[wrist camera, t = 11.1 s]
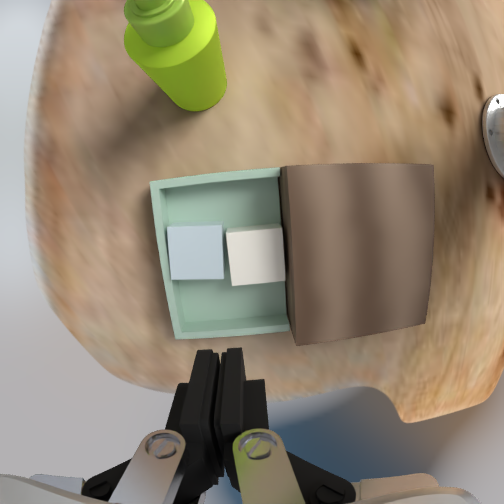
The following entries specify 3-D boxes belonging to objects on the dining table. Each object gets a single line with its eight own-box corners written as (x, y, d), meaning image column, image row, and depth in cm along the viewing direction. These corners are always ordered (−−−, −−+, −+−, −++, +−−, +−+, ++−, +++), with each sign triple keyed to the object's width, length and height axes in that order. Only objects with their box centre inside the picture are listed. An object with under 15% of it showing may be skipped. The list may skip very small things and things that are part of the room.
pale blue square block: (167, 227, 27) (173, 222, 29) (171, 279, 28) (177, 270, 31) (221, 225, 27) (223, 220, 29) (223, 279, 28) (225, 270, 31)
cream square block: (278, 223, 30) (281, 227, 27) (281, 271, 31) (285, 280, 28) (227, 228, 30) (225, 233, 27) (233, 276, 31) (232, 286, 28)
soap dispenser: (238, 59, 26) (233, -79, 7) (215, 118, 28) (166, 21, 8) (185, 46, 25) (124, -80, 6) (161, 103, 27) (52, 17, 8)
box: (276, 168, 29) (279, 167, 26) (285, 318, 33) (289, 330, 30) (158, 181, 29) (149, 181, 26) (180, 326, 33) (175, 339, 30)
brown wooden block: (403, 165, 29) (433, 164, 23) (400, 301, 33) (425, 323, 27) (278, 168, 29) (286, 165, 23) (287, 317, 33) (296, 345, 27)
